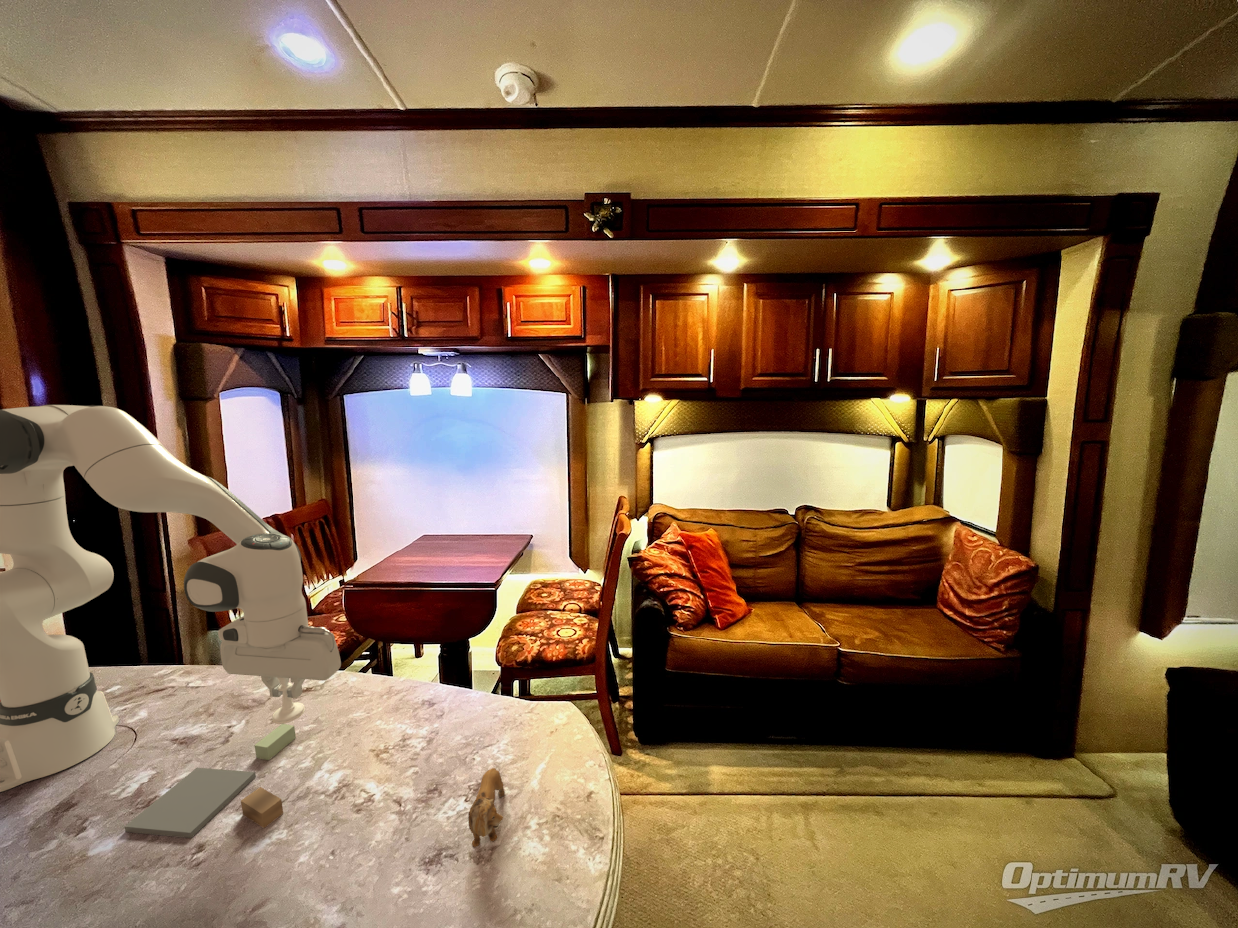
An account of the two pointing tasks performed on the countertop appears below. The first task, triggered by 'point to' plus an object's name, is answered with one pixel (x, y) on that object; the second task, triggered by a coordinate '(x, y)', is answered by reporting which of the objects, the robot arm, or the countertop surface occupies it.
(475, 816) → the lion figurine
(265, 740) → the sage brick
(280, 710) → the chess piece
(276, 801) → the walnut brick
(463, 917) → the countertop surface
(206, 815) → the slate tile
